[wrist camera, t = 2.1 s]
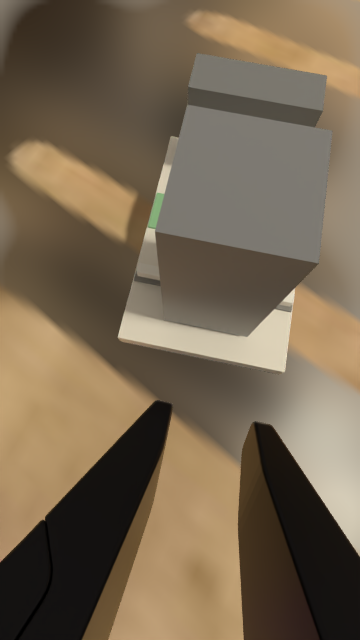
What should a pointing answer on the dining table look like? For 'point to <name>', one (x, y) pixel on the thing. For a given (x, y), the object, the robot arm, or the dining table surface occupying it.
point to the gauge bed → (145, 294)
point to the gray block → (239, 218)
